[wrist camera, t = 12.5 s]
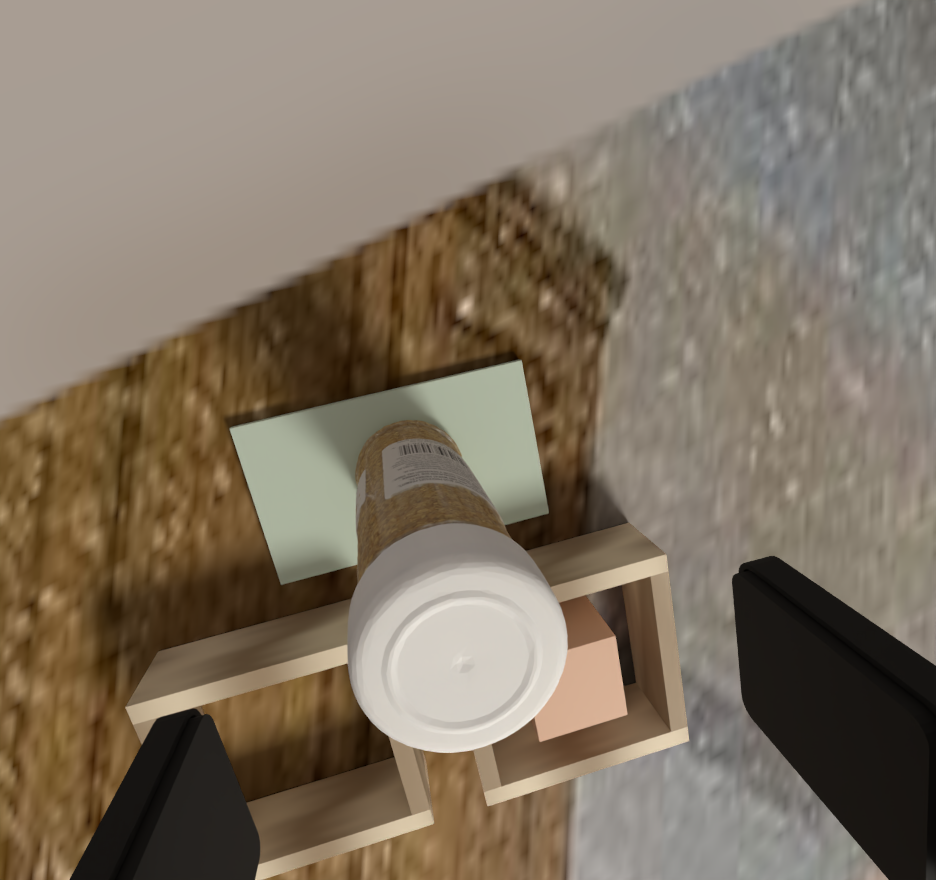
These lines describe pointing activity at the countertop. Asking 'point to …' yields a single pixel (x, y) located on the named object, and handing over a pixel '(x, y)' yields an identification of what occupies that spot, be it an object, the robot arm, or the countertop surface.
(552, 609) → the sprinkles bottle
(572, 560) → the box
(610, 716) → the terracotta cube
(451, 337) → the countertop surface
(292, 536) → the mat
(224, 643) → the box
